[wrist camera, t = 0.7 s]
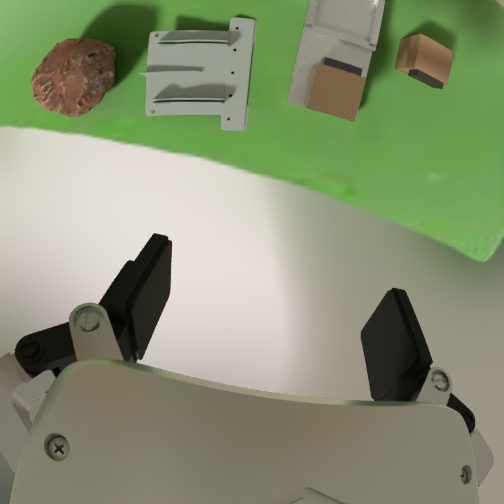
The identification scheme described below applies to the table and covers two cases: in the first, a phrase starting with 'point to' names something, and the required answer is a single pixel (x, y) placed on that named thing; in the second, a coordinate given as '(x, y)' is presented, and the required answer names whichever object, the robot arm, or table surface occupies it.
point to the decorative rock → (74, 76)
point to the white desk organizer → (335, 55)
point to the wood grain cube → (424, 60)
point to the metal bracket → (201, 73)
